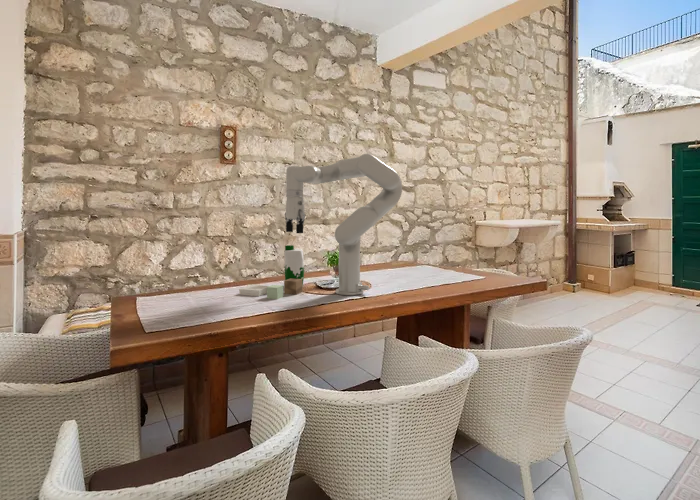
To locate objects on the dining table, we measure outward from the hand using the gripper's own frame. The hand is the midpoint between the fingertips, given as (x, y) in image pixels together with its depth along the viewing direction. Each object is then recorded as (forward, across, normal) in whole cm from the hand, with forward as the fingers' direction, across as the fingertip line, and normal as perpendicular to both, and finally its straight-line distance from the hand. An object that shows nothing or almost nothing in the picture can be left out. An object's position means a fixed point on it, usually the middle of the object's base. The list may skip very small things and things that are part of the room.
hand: (294, 232), depth 185 cm
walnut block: (+27, -3, +2) cm, 27 cm away
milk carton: (+27, +9, -5) cm, 29 cm away
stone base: (+27, +6, +16) cm, 32 cm away
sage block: (+27, -7, +13) cm, 31 cm away
